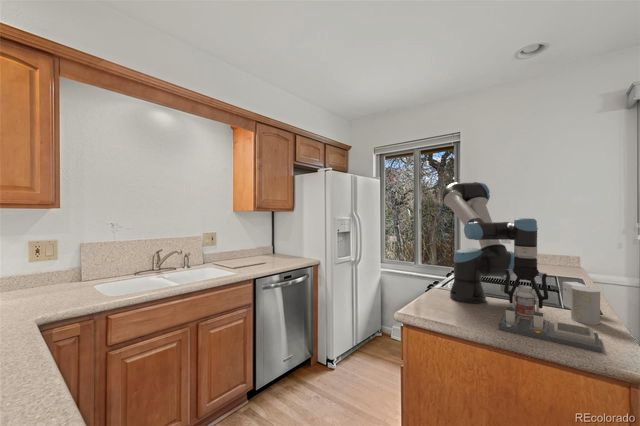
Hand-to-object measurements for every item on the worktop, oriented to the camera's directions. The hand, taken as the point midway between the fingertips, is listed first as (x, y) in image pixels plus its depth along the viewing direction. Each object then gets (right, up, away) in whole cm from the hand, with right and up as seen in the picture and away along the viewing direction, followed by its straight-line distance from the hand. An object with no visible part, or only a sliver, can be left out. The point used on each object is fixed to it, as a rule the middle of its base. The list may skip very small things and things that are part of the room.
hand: (525, 313), depth 115 cm
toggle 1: (-14, +1, -12) cm, 19 cm away
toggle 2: (-8, +1, -17) cm, 19 cm away
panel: (-6, 0, -18) cm, 19 cm away
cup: (+18, 0, -7) cm, 19 cm away
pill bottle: (0, 0, 0) cm, 0 cm away
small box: (+26, 0, +6) cm, 26 cm away
